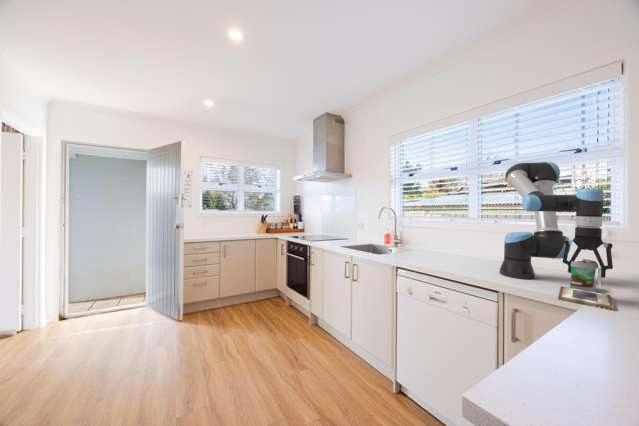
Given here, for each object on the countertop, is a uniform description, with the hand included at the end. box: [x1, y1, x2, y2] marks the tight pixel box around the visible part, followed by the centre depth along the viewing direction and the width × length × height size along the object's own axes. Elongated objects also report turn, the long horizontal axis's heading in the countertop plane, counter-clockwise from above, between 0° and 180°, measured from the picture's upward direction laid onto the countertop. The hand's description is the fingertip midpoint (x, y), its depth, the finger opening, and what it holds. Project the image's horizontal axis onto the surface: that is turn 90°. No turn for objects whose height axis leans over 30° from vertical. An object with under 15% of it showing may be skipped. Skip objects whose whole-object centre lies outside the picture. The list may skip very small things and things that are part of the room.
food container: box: [570, 258, 600, 287], centre depth 105 cm, size 12×6×10 cm, turn 118°
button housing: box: [569, 281, 597, 292], centre depth 119 cm, size 8×8×3 cm
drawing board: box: [557, 285, 615, 311], centre depth 106 cm, size 15×20×1 cm
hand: (585, 283), depth 106 cm, fingers closed on food container, 7 cm apart
